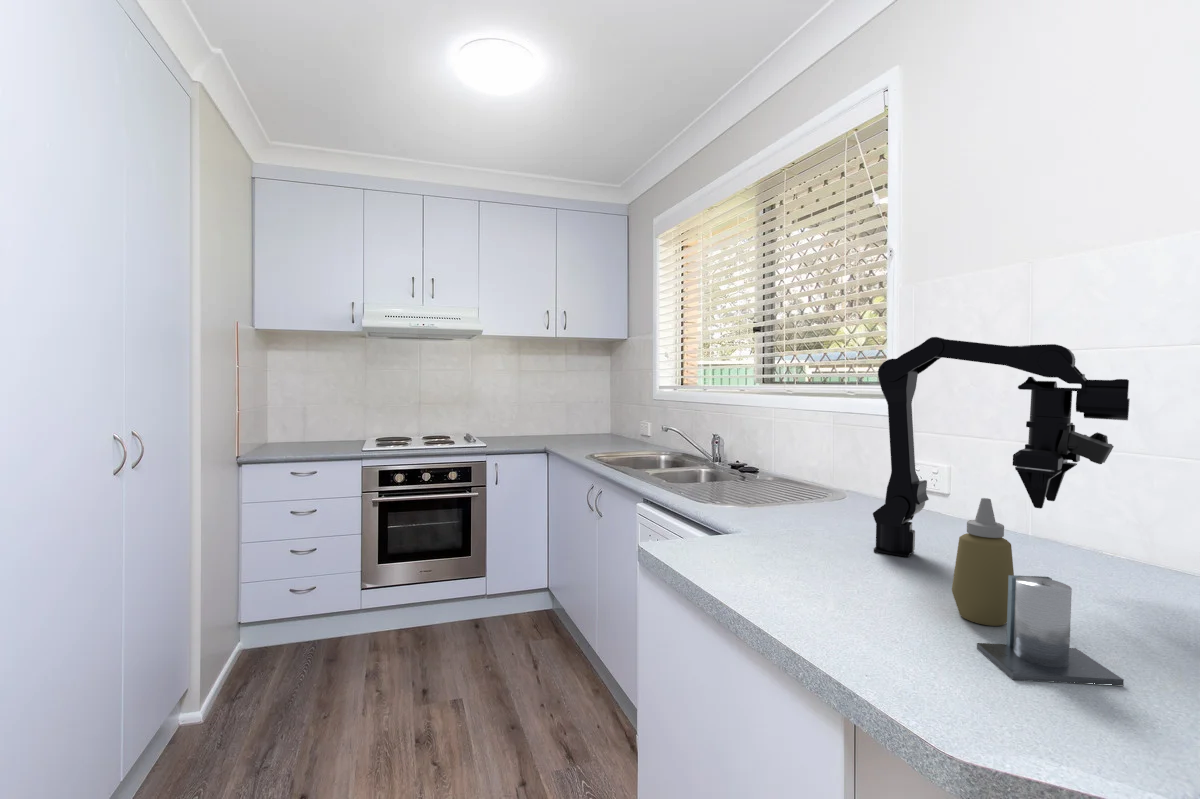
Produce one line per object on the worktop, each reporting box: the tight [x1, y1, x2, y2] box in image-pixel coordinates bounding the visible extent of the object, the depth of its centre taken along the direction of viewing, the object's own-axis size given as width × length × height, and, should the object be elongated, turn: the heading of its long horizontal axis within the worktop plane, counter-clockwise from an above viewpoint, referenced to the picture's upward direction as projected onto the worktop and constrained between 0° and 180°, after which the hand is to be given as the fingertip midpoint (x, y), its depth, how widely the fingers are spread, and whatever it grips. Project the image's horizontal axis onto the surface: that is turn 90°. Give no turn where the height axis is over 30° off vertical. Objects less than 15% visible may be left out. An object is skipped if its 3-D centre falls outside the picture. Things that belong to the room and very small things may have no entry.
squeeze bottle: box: [951, 497, 1015, 627], centre depth 86 cm, size 8×8×18 cm
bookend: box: [976, 574, 1125, 686], centre depth 72 cm, size 8×12×10 cm, turn 84°
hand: (1044, 504), depth 103 cm, fingers open, 9 cm apart
